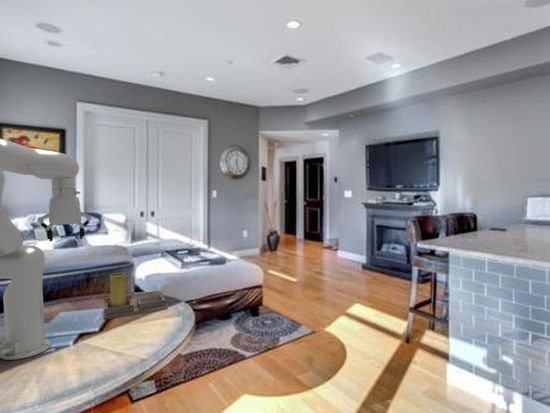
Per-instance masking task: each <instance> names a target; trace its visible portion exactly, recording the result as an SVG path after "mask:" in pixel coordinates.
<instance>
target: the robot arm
mask: <svg viewBox="0 0 550 413" xmlns="http://www.w3.org/2000/svg"><path fill="white" fill-rule="evenodd" d="M79 171H80V165H79V163H78V161H77V159H75V158H74V157H73V156H71V155H68V154H65V153H63V152H58V151H57V152H56V151H50V150H46V149H45V150H43V149H41V148H34V147H33V148H32V147H28V146H25V145H22V144H19V143H16V142H13V141H10V140H7V139H4V138H0V280H1V279H2V280H3V279H11V280H10V282H9V284H8V285H7V286H6V287H5V290H4V293H3V296H2V298H3V301H2V302H3V314H4V315H3V316H4V317H3V318H4V331H5V332H4V333H5V334H4V336H5V339H4V340H2V341H1V344H0V359H2V360H6V361H7V360H8V361H9V360H10V361H12V360H13V361H14V360H21V359H26V358H30V357H34V356H36V355H39V354H41V353H43V352H45V351H47V350H48V349H49V348H51V347H52V340H51V339H48V338H46V333H45V332H46V331H45V330H46V329H45V314H44V313H45V312H44V311H45V310H44V296H43V295H44V294H43V275H44V268H45V261H46V260H45V259H46V257H45V253H44V251H43V250H42V249H41V248H40V247H37V246H35V245H30V244H24V245H23V243H24V239H23V238H24V237H23V235H22V234H21V232H20V231H19V228H17V226H16V225H15V223H14V222H12V220H11V219H10V217H9V216H8V215H7V214H6V212H5V211H4V210H3V207H2V199H3V198H2V197H3V192H4V188H5V183H6V182H5V181H6V178H5V174H4V172H10V173H13V174H18V175H24V176H25V175H26V176H34V177H35V178H37V179H40V180H51V196H52V197H50V198H49V204H48V205H49V206H48V213H46V214H44V215H42V216H40V217H37V222H38V223H39V225H40V226H41V227H42V228H43V229H45V231H46V236H47V240H49V242H52V241H53V240H54V236H53V234H54V233H53V230H52V228H53V227H54V226H55V225H56V226H57V225H58V226H59V225H60V226H61V225H75V224H76V225H77V226H78V227H79V239H80V240H83V237H85V228H86V226H87V225H89V224H90V222H91V219H92V215H90V214H87V213H85V212H82V209H81V203H80V198H79V196H77V195H80V194H81V190H79V189H78V190H77V189H76V177H77V175H78V174H79ZM82 217H84V218H86V219H85V221H84V222H83V223H82ZM46 219H48V222H49V224H47V223H45V222H44V220H46Z"/></svg>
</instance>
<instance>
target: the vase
mask: <svg viewBox="0 0 550 413" xmlns="http://www.w3.org/2000/svg"><path fill="white" fill-rule="evenodd" d="M109 281H110V282H109V283H110V284H109V285H110V297H111V308H114V307H120V306H126V305H127V302H126V295H127V293H126V278H125V273H124V272H116V273H115V272H114V273H112V274H110V275H109Z"/></svg>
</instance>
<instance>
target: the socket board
mask: <svg viewBox="0 0 550 413" xmlns="http://www.w3.org/2000/svg"><path fill="white" fill-rule="evenodd" d="M135 294H136V303H133V299H132V293H129V294H126V302H127V305H126V306H120V307H114V308H111V296H108V297H104V308H103V310H102V311H103V320H111V319H116V318H123V317H128V316H129V317H130V316H135V315H140V314H147V313H152V312H159V311H165V310H168V305H167V303H166V299H165V297H164V296H163V292H162V289H158V290H157V289H156V290H150V291H143V292H136V293H135Z"/></svg>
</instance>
